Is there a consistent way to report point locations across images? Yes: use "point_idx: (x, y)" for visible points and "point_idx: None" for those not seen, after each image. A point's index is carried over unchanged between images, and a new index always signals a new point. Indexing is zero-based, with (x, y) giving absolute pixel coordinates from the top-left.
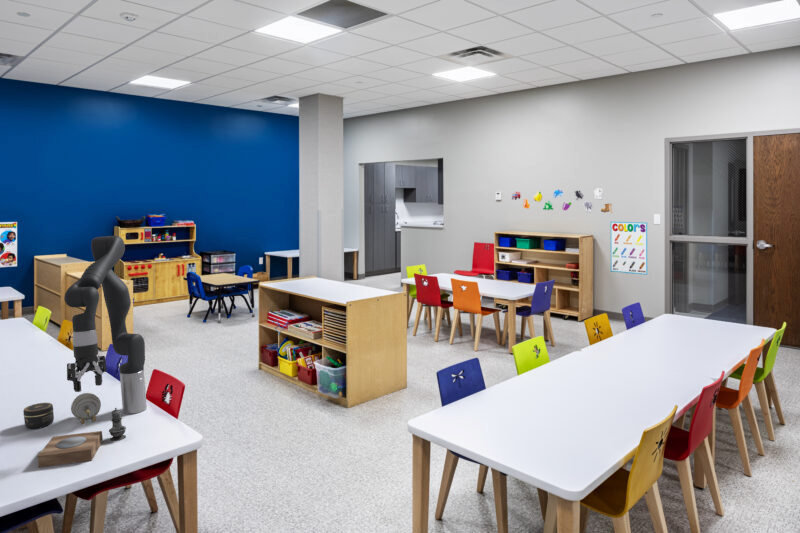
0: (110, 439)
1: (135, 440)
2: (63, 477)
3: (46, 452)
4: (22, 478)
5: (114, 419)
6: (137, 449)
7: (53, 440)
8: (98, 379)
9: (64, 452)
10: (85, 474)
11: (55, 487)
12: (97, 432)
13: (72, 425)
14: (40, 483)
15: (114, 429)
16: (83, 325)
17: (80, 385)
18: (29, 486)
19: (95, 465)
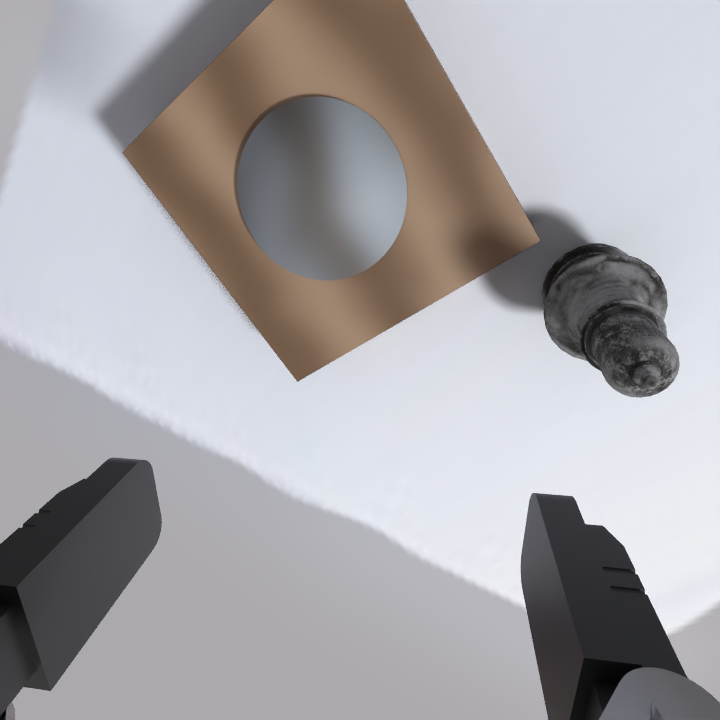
0: (558, 262)
1: (573, 407)
2: (164, 355)
3: (172, 160)
4: (71, 178)
5: (591, 349)
6: (472, 477)
7: (305, 10)
8: (542, 646)
9: (217, 271)
10: (218, 420)
11: (108, 386)
12: (507, 232)
13: None
14: (93, 303)
15: (567, 321)
16: None
17: (97, 612)
18: (59, 280)
19: (286, 404)
